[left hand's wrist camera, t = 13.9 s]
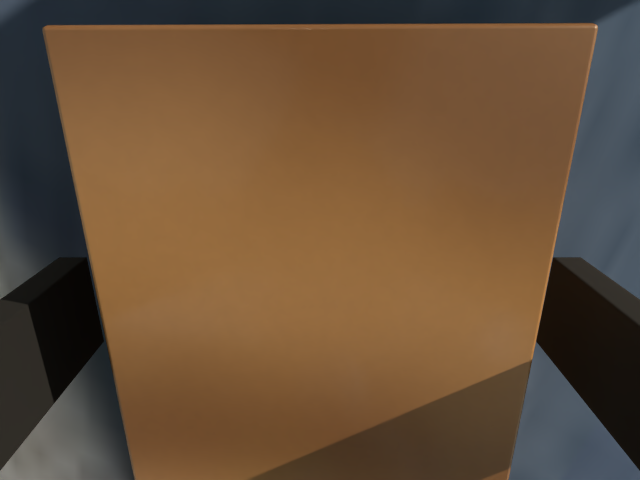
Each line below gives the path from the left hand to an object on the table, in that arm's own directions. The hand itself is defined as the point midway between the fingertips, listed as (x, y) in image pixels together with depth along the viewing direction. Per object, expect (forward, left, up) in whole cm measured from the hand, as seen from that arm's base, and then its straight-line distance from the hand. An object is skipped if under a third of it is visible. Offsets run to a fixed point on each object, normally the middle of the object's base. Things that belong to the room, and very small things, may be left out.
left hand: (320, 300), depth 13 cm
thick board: (+21, +4, -3) cm, 21 cm away
